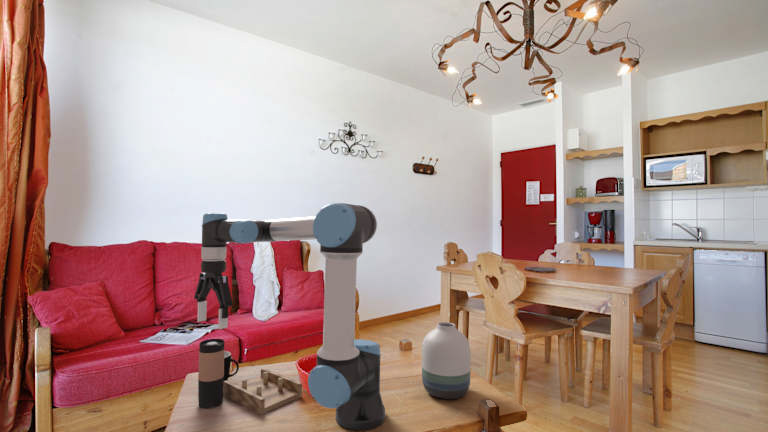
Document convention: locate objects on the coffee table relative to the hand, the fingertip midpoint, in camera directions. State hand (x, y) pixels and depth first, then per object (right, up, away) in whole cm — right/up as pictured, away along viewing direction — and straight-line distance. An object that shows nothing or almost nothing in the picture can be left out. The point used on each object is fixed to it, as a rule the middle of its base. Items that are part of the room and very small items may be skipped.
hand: (212, 324), depth 124 cm
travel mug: (0, -26, -1) cm, 26 cm away
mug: (-4, -26, +16) cm, 31 cm away
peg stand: (+15, -26, +5) cm, 30 cm away
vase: (+78, -27, +9) cm, 84 cm away
